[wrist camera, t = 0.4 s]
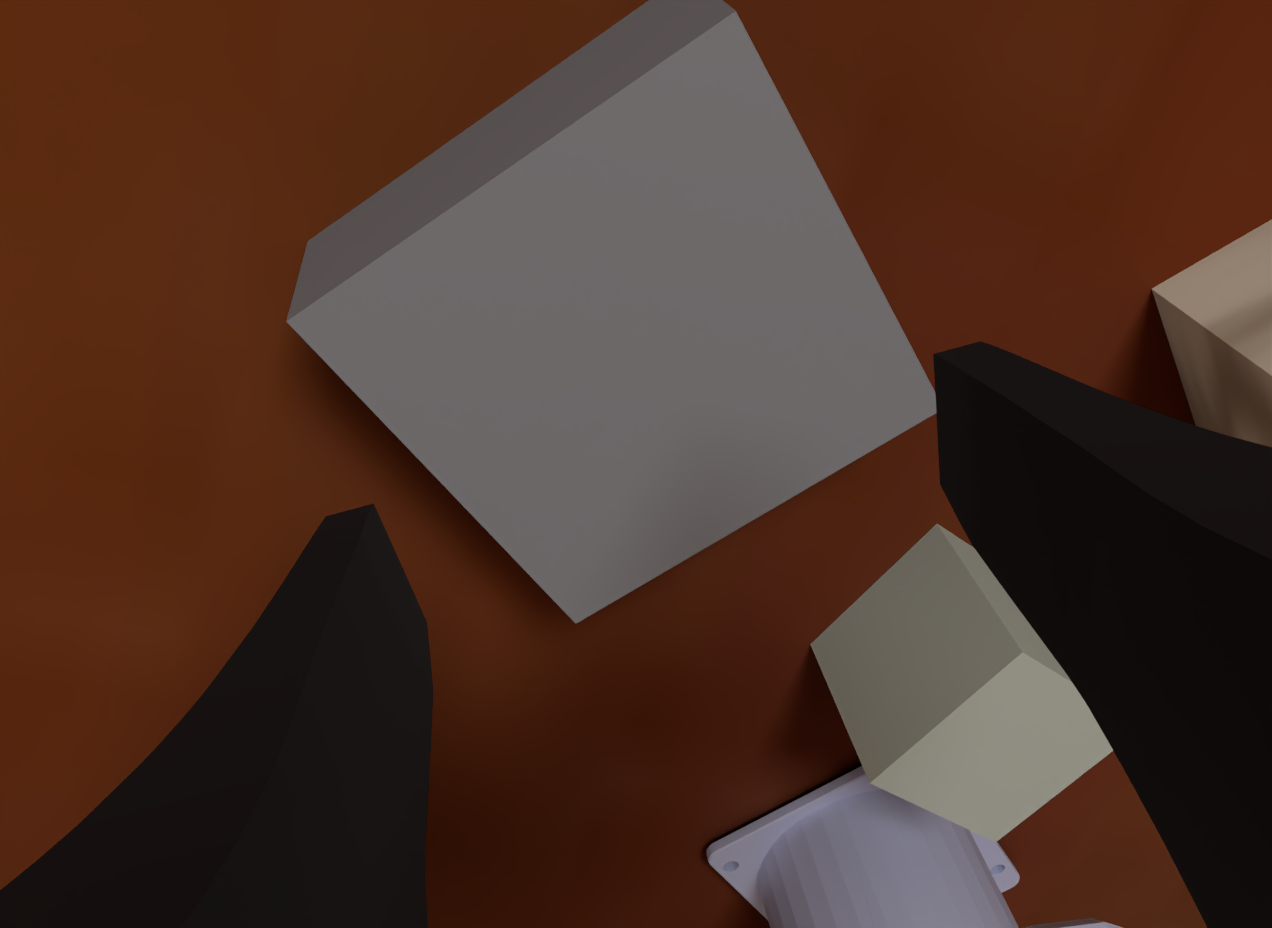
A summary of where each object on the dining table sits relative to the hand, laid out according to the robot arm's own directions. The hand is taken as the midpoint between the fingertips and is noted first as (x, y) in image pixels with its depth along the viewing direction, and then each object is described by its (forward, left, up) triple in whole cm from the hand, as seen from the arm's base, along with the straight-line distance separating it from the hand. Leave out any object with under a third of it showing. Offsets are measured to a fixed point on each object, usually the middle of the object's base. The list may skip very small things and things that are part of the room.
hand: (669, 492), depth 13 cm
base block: (-2, 0, -10) cm, 11 cm away
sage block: (-16, -2, -10) cm, 19 cm away
